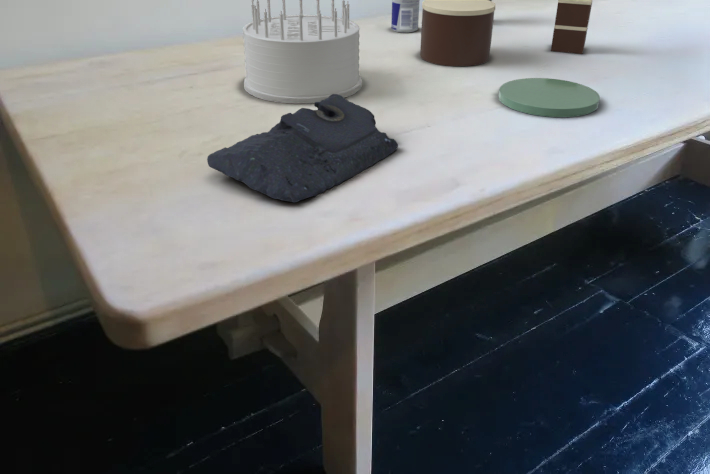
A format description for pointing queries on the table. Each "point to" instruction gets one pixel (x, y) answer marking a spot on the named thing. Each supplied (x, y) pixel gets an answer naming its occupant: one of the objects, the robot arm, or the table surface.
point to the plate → (549, 97)
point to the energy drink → (405, 15)
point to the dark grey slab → (307, 151)
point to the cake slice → (571, 26)
